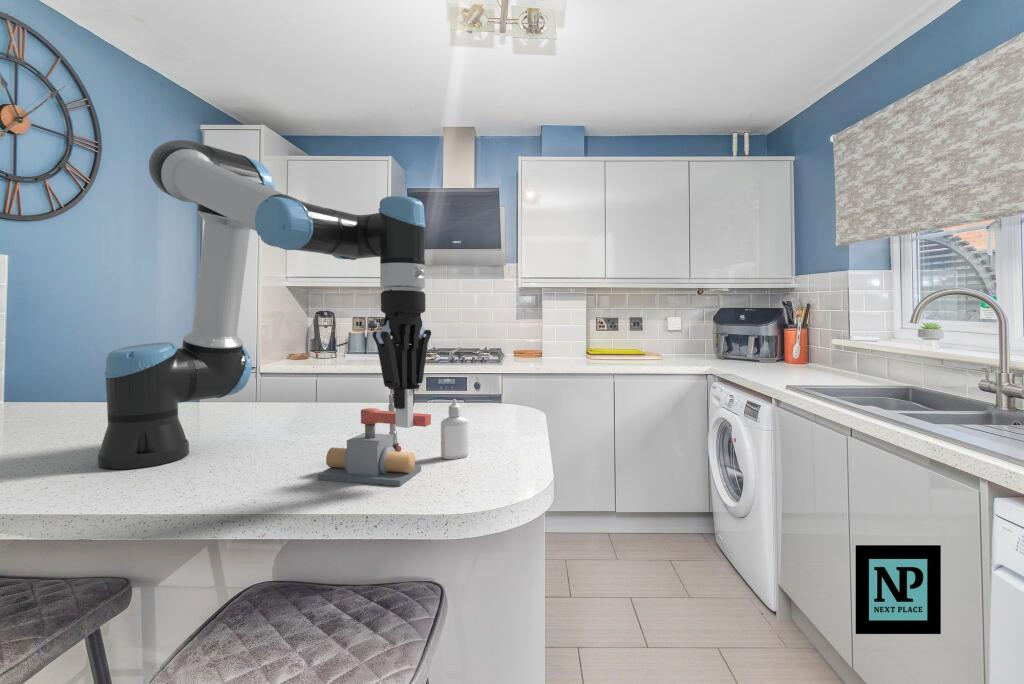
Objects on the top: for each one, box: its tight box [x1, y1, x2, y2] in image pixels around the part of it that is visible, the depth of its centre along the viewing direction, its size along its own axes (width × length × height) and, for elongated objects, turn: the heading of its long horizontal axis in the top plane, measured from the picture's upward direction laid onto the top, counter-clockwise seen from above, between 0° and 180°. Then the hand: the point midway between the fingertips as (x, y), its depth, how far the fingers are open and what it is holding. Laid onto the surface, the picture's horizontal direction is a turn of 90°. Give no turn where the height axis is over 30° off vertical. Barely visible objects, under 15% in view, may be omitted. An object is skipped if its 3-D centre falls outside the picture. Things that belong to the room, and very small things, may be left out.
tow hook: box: [388, 394, 402, 452], centre depth 107 cm, size 8×13×9 cm
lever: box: [360, 407, 432, 427], centre depth 92 cm, size 14×3×2 cm, turn 70°
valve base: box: [317, 423, 422, 487], centre depth 94 cm, size 16×9×10 cm, turn 77°
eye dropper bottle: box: [440, 399, 470, 460], centre depth 106 cm, size 4×6×12 cm
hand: (404, 426), depth 89 cm, fingers closed
